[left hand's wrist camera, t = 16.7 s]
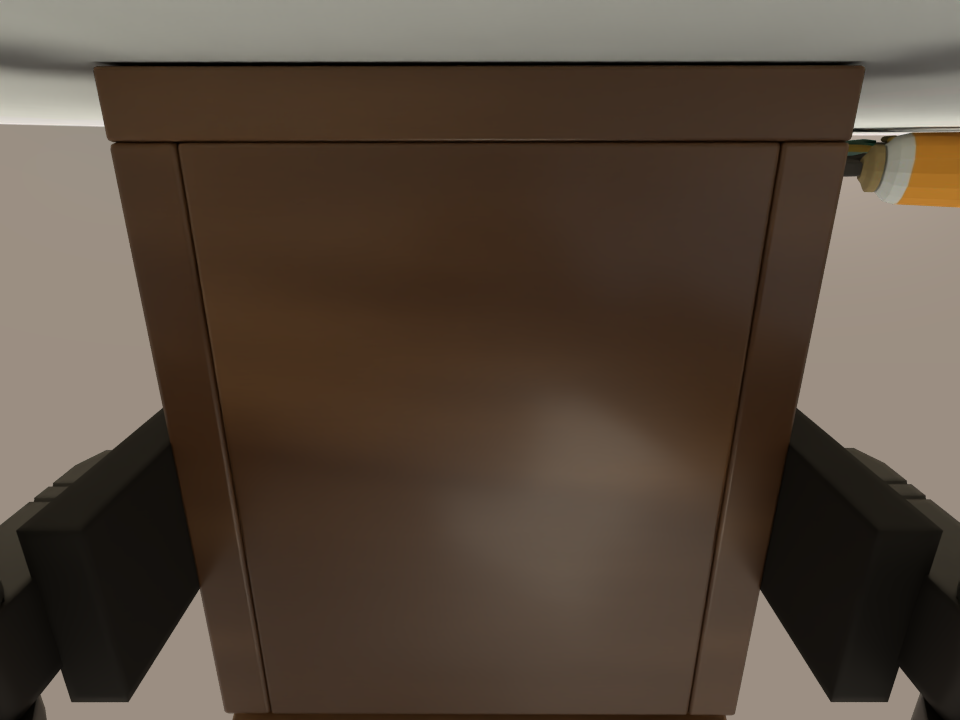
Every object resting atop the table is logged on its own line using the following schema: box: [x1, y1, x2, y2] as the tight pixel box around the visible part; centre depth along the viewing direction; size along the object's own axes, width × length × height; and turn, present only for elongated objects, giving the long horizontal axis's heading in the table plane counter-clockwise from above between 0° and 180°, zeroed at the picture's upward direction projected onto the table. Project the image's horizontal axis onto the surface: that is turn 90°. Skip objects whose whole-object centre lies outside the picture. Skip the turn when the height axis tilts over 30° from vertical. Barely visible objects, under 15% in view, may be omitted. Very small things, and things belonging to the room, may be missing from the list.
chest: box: [93, 65, 865, 715], centre depth 17 cm, size 18×9×11 cm, turn 0°
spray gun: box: [843, 132, 960, 207], centre depth 40 cm, size 4×17×15 cm
